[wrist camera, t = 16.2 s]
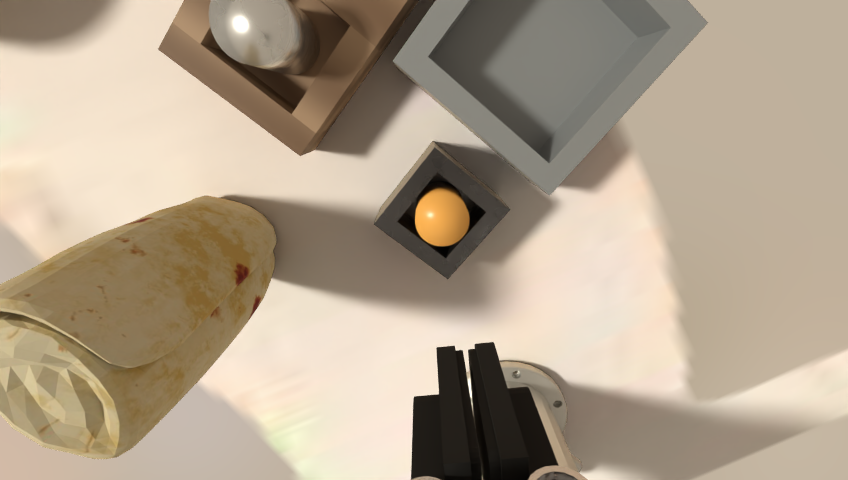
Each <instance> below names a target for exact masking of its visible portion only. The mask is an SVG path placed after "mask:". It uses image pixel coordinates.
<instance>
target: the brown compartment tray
mask: <svg viewBox="0 0 848 480" xmlns="http://www.w3.org/2000/svg"><path fill="white" fill-rule="evenodd" d="M288 1H290V2H291V3H292V4H293V5H295V6H296V7H297V8H298V9H300V10H301V11H302V12H303V13H305V14H306V15H307V16H308V17H309V18H310V19H311V20H312V21H313V23H314V24H315V26H316V28H317V30H318V33H319V37H320V52H319V56H318V58H317V60H316V62H315V64H314V65H313V66H312V67H311V68H310V69H309V70H308V71H306V72H304V73H301V74H297V75H288V74H284V73H280V72H275V71H271V70H267V69H263V68H259V67H255V66H251V65H246V64H243V63H240V62H238V61H236V60H234V59H233V58H231V57H230V56H228V55H227V54H226V53H225V52H224V51H223V50H222V49H221V47H220V46H219V45H218V43H217V42H216V40H215V38H214V36H213V34H212V31H211V28H210V23H209V6H210V2H211V0H184V1H183V3H182V5H181V7H180V9H179V11H178V13H177V15H176V17H175V18H174V20H173V22H172V24H171V26H170V28H169V30H168V32H167V33H166V35H165V37H164V39H163V41H162V43H161V45H160V47H159V48H158V50H160V51H161V52H162V53H164V54H165V55H166V56H168V57H169V58H170V59H172V60H173V61H174V62H176V63H177V64H178V65H180V66H181V67H182V68H184V69H185V70H186V71H188V72H189V73H190V74H192V75H193V76H194V77H196V78H197V79H198V80H200V81H201V82H202V83H204V84H205V85H206V86H208V87H209V88H210V89H212V90H213V91H214V92H216V93H217V94H218V95H220V96H221V97H222V98H224V99H225V100H226V101H228V102H229V103H230V104H232V105H233V106H234V107H236V108H237V109H238V110H240V111H241V112H242V113H244V114H245V115H246V116H248V117H249V118H250V119H252V120H253V121H254V122H256V123H257V124H258V125H260V126H261V127H262V128H264V129H265V130H266V131H268V132H269V133H270V134H272V135H273V136H274V137H276V138H277V139H278V140H280V141H281V142H282V143H284V144H285V145H286V146H288V147H289V148H290V149H292V150H293V151H294V152H296V153H297V154H298V155H300V156H301V155H304V154H306V153H309V152H311V151H313V150H315V149H316V147H317V146H318V145H319V143H320V142H321V140H322V139H323V137H324V136H325V134H326V133H327V132H328V130H329V129H330V127H331V126H332V124H333V123H334V122H335V120H336V119H337V117H338V116H339V114H340V113H341V112H342V110H343V109H344V107H345V106H346V104H347V103H348V102H349V100H350V99H351V97H352V96H353V94H354V93H355V92H356V90H357V89H358V87H359V86H360V84H361V83H362V82H363V80H364V79H365V77H366V76H367V74H368V73H369V71H370V70H371V69H372V67H373V66H374V64H375V63H376V61H377V60H378V59H379V57H380V56H381V54H382V53H383V51H384V50H385V49H386V47H387V46H388V44H389V43H390V41H391V40H392V39H393V37H394V36H395V34H396V33H397V31H398V30H399V29H400V27H401V26H402V24H403V23H404V21H405V20H406V18H407V17H408V16H409V14H410V13H411V11H412V10H413V8H414V7H415V6H416V4H417V3H418V1H419V0H288Z"/></svg>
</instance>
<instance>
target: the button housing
mask: <svg viewBox="0 0 848 480" xmlns="http://www.w3.org/2000/svg"><path fill="white" fill-rule="evenodd" d="M435 182H445V183H448V184H451V185H452V186H454V187H455V188H456V189H457V190H458V191H459V192H460V194H461V196H462V199H463V201H464V203H465V205H466V208H467V210H468V213H469V227H468V230H467V232H466V233H465V235H464V236H463V237H462V238H461V239H460V240H459V241H458V242H456V243H454V244H452V245H449V246H435V245H432V244H430V243H428V242H426V241H425V240H424V239H423V238H422V237H421V236H420V235H419V233H418V231H417V229H416V225H415V213H416V201H417V197H418V195H419V194H420V193H421V191H422V190H423V189H424V188H425V187H426V186H427V185H429V184H431V183H435ZM509 210H510V209H509V207H508V206H507V205H506V204H505V203H504V202H503V200H502V199H501V198H500V197H499V196H498V195H497V194H496V193H495V192H494V191H493V190H491V189H490V188H489V187H488V186H486V185H485V184H484V183H483V182H482V181H480V180H479V179H478V178H477V177H476V176H474V175H473V174H472V173H471V172H470V171H468V170H467V169H466V168H465V167H464V166H462V165H461V164H460V163H459V162H457V161H456V160H455V159H454V158H453V157H451V156H450V155H449V154H448V153H447V152H445V151H444V150H443V149H442V148H441V147H439V146H438V145H437V144H436V143H435V142H433V141H432V143H431V144H430V145H429V147H428V148H427V149H426V150H425V152H424V153H423V154H422V155H421V157H420V158H419V159H418V161H417V162H416V163H415V164H414V166H413V167H412V168H411V169H410V171H409V172H408V173H407V175H406V176H405V177H404V178H403V180H402V181H401V182H400V183H399V185H398V186H397V187H396V189H395V190H394V191H393V192H392V194H391V195H390V196H389V197H388V199H387V200H386V201H385V202H384V204H383V205H382V206H381V208H380V210H379V213H378V215H377V218H376V220H375V222H374V225H376V226H377V227H378V228H380V229H381V230H382V231H384V232H385V233H386V234H388V235H389V236H390V237H392V238H393V239H394V240H396V241H397V242H398V243H400V244H401V245H402V246H404V247H405V248H407V249H408V250H409V251H411V252H412V253H413V254H415V255H416V256H417V257H419V258H420V259H421V260H423V261H424V262H425V263H427V264H428V265H429V266H431V267H432V268H433V269H435V270H436V271H438V272H439V273H440V274H442V275H443V276H444V277H446V278H447V279H448V278H449V277H450V276H451V275H452V274H453V273H454V272H455V271H456V269H457V268H458V267H459V266H460V265H461V264H462V263H463V262H464V261H465V259H466V258H467V257H468V256H469V255H470V254H471V253H472V252H473V250H474V249H475V248H476V247H477V246H478V245H479V244H480V243H481V242H482V240H483V239H484V238H485V237H486V236H487V235H488V234H489V233H490V231H491V230H492V229H493V228H494V227H495V226H496V225H497V224H498V223H499V221H500V220H501V219H502V218H503V217H504V216H505V215H506V214H507V212H508V211H509Z"/></svg>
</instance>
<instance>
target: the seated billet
mask: <svg viewBox="0 0 848 480" xmlns="http://www.w3.org/2000/svg"><path fill="white" fill-rule="evenodd" d="M209 23H210V28H211V31H212V34H213V36H214V38H215V40H216V42H217V43H218V45H219V46H220V47H221V49H222V50H223V51H224V52H225V53H226V54H227V55H228V56H230V57H231V58H233V59H234V60H236V61H238V62H240V63H243V64H246V65H251V66H255V67H259V68H263V69H267V70H271V71H275V72H280V73H284V74H288V75H297V74H301V73H304V72H306V71H308V70H309V69H310V68H311V67H312V66H313V65H314V64H315V62H316V60H317V58H318V56H319V52H320V37H319V33H318V30H317V28H316V26H315V24H314V23H313V21H312V20H311V19H310V18H309V17H308V16H307V15H306V14H305V13H303V12H302V11H301V10H300V9H298V8H297V7H296V6H295V5H293V4H292V3H291V2H290V1H288V0H211V2H210V6H209Z"/></svg>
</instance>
